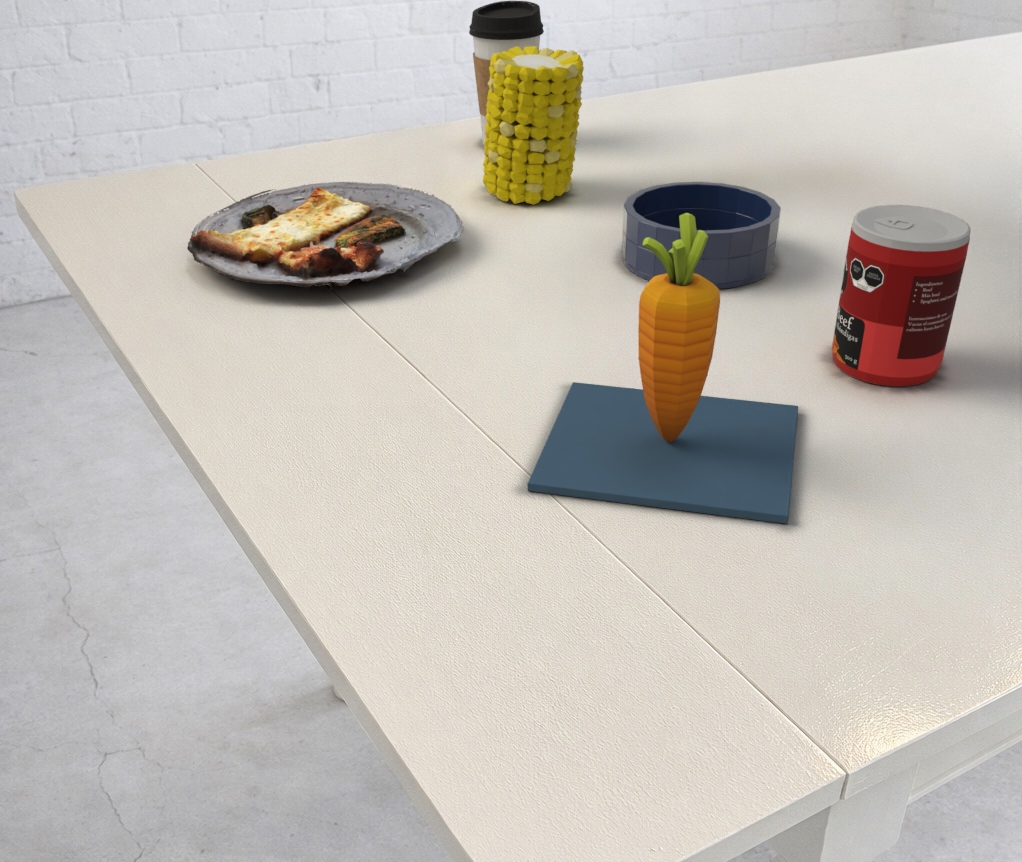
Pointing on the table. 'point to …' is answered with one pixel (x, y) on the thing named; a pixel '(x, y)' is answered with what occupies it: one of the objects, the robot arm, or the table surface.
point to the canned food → (899, 293)
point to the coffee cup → (501, 39)
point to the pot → (720, 213)
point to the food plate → (324, 233)
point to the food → (531, 123)
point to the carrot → (676, 331)
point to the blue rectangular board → (671, 454)
